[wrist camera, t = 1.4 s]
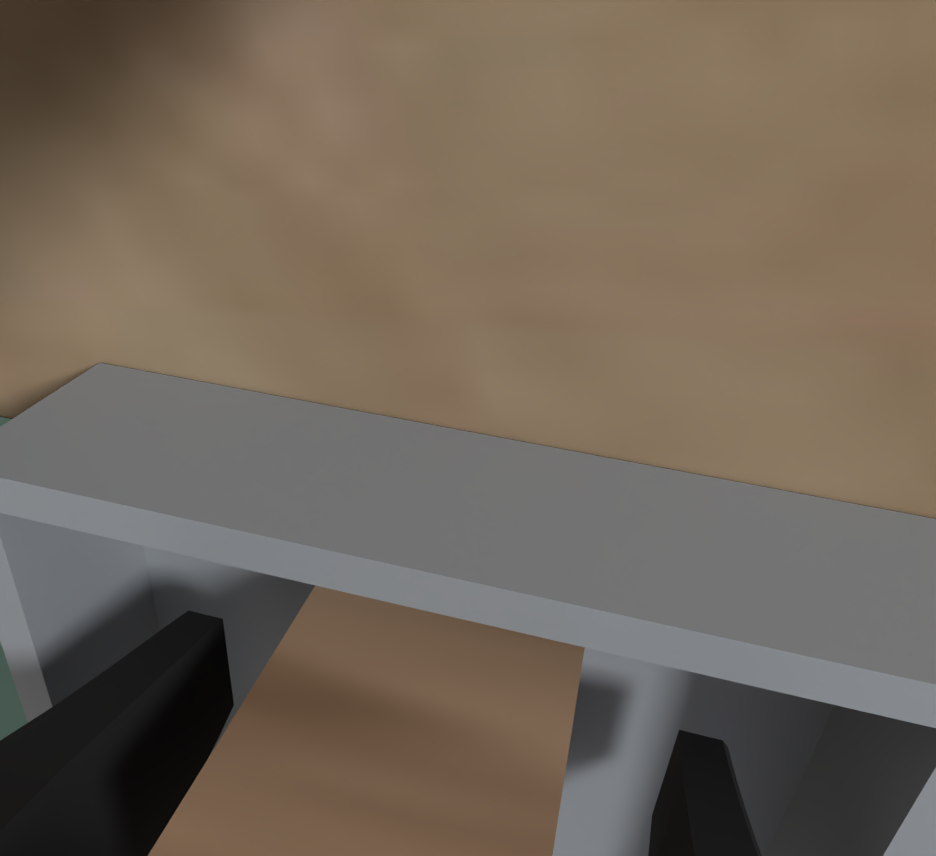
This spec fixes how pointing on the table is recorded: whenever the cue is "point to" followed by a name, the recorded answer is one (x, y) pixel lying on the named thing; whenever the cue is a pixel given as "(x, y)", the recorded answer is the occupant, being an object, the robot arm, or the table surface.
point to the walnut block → (389, 741)
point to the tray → (495, 589)
